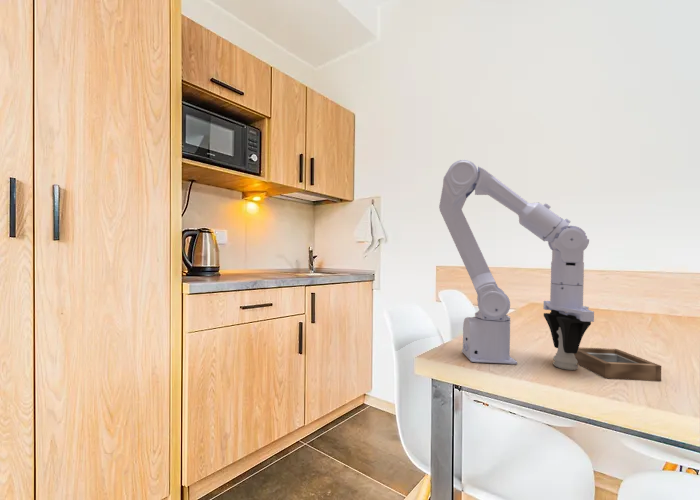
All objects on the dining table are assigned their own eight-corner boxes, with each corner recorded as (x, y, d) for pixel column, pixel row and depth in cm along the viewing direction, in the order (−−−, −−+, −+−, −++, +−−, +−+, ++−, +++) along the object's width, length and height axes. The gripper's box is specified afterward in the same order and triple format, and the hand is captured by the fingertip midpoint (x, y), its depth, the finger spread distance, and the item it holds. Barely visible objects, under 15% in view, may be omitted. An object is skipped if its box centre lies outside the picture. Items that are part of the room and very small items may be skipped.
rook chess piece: (582, 371, 67) (582, 331, 67) (557, 369, 68) (557, 329, 68) (573, 364, 71) (573, 326, 71) (549, 362, 72) (550, 325, 72)
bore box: (604, 378, 64) (605, 363, 64) (569, 359, 75) (569, 346, 75) (661, 380, 63) (661, 365, 63) (616, 361, 74) (616, 348, 74)
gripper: (611, 288, 62) (610, 362, 62) (566, 282, 77) (565, 342, 77) (572, 287, 63) (570, 360, 63) (534, 281, 77) (533, 340, 77)
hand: (565, 350), depth 70 cm, fingers closed on rook chess piece, 3 cm apart
